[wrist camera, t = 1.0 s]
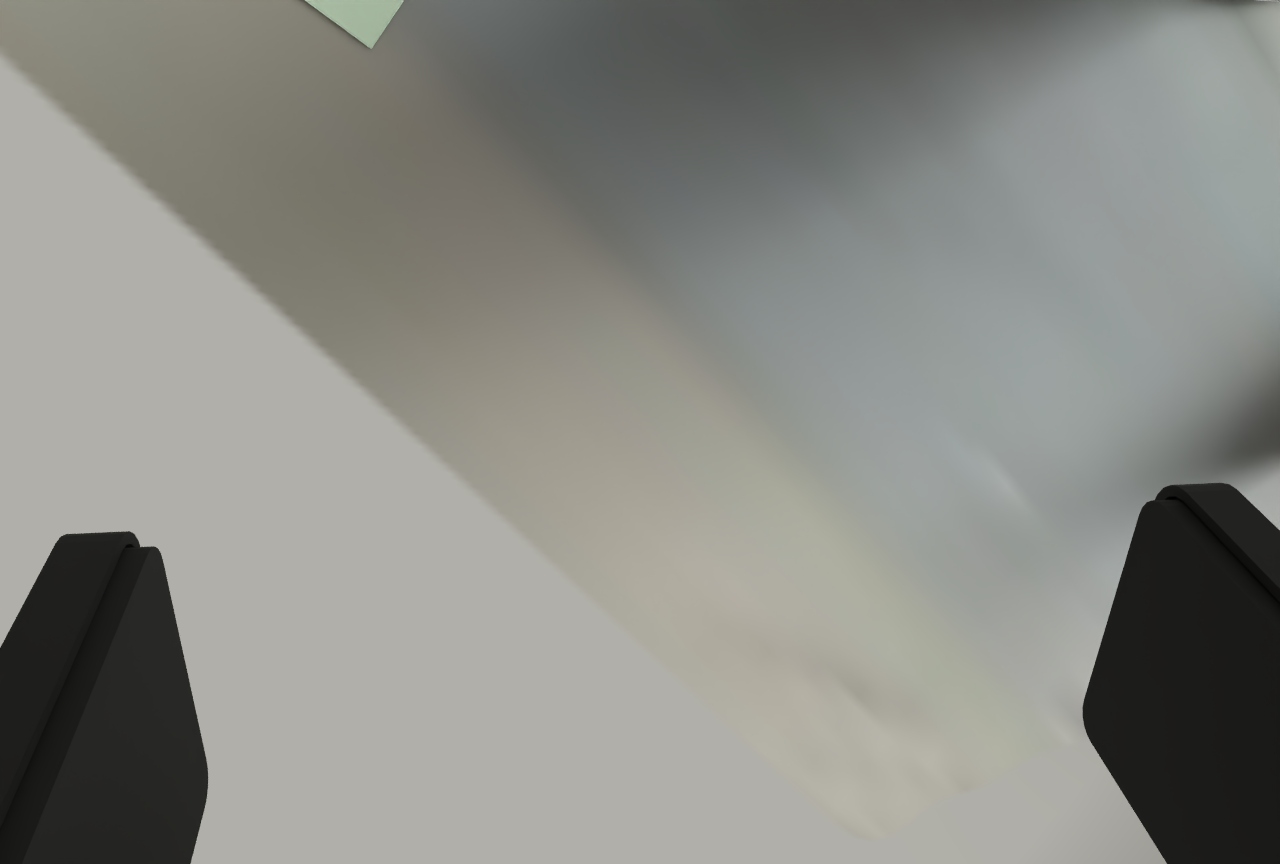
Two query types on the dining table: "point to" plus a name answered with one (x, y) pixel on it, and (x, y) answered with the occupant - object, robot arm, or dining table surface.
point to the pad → (359, 16)
